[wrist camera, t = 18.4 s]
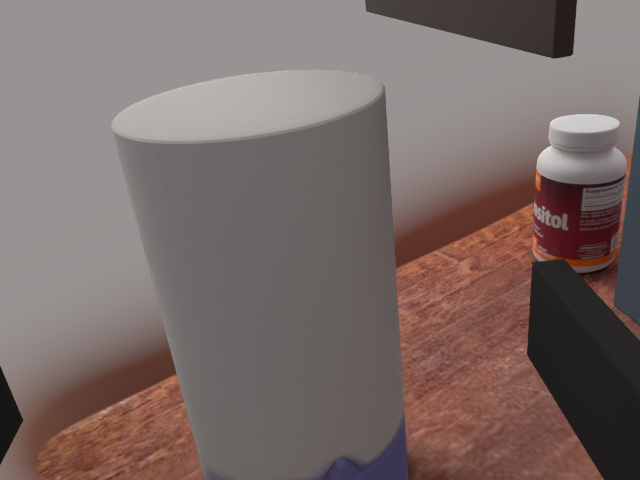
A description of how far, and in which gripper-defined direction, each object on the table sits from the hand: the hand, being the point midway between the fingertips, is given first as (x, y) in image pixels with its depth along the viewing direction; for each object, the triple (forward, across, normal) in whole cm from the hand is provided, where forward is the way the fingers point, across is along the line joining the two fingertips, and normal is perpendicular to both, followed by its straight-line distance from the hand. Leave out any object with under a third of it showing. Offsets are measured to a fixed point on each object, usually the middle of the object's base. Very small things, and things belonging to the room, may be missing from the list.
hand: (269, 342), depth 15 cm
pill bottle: (+29, +22, -16) cm, 40 cm away
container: (+10, 0, -16) cm, 19 cm away
